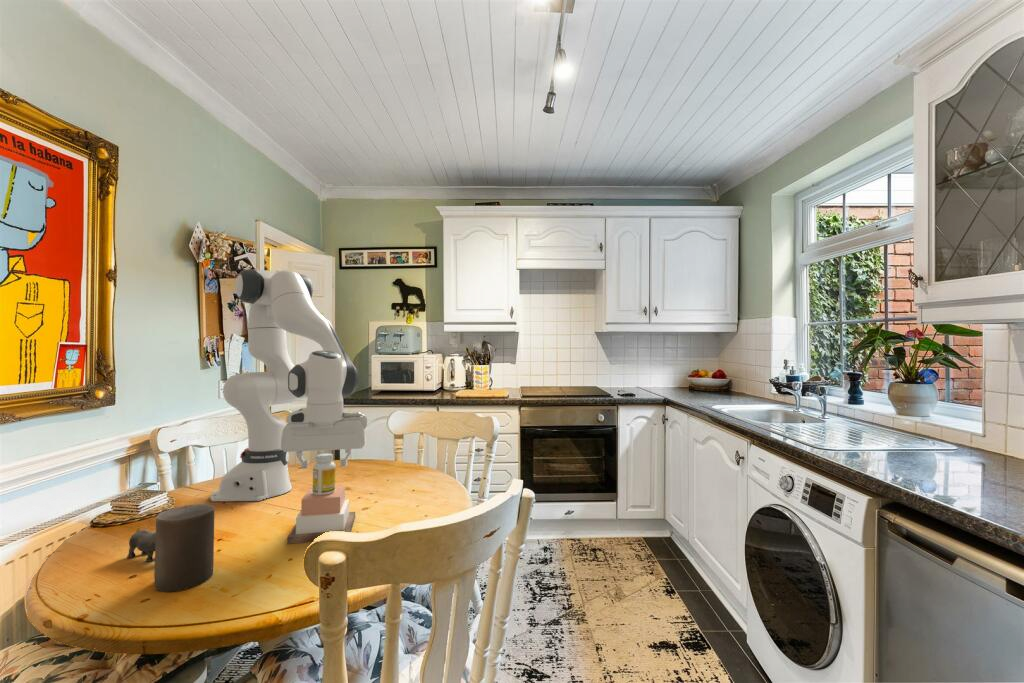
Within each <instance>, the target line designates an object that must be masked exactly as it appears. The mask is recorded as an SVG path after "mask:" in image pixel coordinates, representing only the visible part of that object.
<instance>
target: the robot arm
mask: <svg viewBox="0 0 1024 683" xmlns="http://www.w3.org/2000/svg"><path fill="white" fill-rule="evenodd" d="M234 281H235V282H234V289H235V293H236V294H235V295H236V296H237V298H238V299H239V300H240V301H241V302H243V303H246V304H250V305H249V311H248V318H247V319H248V320H247V321H248V323H247V326H248V327H247V328H248V329H247V336H248V337H247V338H248V339H247V340H248V342H247V343H248V344H247V345H248V349H247V350H248V352H249V355H250V356H252V357H253V358H254V359H256V360H257V361H260V362H262V363H263V364H264V365H265V367H266V371H253V372H252V371H248V372H243V373H238V374H234V375H231V376H229V377H228V378H227V379H226V381H225V383H224V384H223V387H222V393H223V398H224V400H225V401H226V403H227V404H228V405H230V406H231V407H232V408H234V409H236V410H237V411H238V412H239V413H240V414H241V416H242V417H243V418H244V420H245V423H246V426H247V427H246V428H247V437H248V438H247V439H248V442H247V443H248V447H246V448H245V449H244V450H243V451H242V452H241V454H240V455H239V458H240V459H241V461H240V462H239V463H238V464H236V465H235V466H234V467H232V468H231V469H230V470H229V471H228V472H226V473H225V474H224V475H223V476H222V478H221V479H220V483H219V487H218V489H216V490H214V491H213V492H212V493H211V494H210V498H209V500H210V499H211V500H212V501H211V500H210V501H211V502H259V501H264V500H267V499H269V498H273V497H278V496H281V495H284V494H286V493H288V492H291V490H292V489H293V486H292V484H291V479H290V475H289V469H288V468H289V467H288V464H289V460H290V455H289V454H290V453H291V452H292V453H293V452H296V453H295V454H296V457H297V459H298V460H299V462H300V469H302V470H303V469H308V468H309V461H310V460H308V459H305V457H304V456H303V455H304V454H305V452H311V451H312V452H314V451H334V450H335V451H337V450H345V451H344V453H345V457H344V458H341V459H340V462H339V464H340V467H347V466H348V459H349V457H350V455H351V453H352V451H353V450H357V449H358V450H359V449H363V448H364V447H365V446H366V442H367V439H366V437H367V436H366V428H367V426H368V418H367V416H366V415H365V414H362V413H361V412H344V398H348V397H350V396H351V395H352V394H354V392H355V391H356V390H357V389H358V387H359V385H360V374H359V372H358V369H357V367H356V366H355V365H354V363H353V362H352V360H351V359H350V358H349V356H348V353H347V352H346V350H345V348H344V346H343V344H342V341H341V339H340V337H339V336H338V334H337V332H336V330H335V328H334V327H333V325H332V322H331V321H330V320H329V319H328V318H326V317H325V316H323V315H322V314H321V313H320V312H319V311H318V309H317V308H316V306H314V302H313V301H312V297H313V292H314V289H313V282H312V280H311V278H309V277H308V276H307V275H305V274H302V273H301V274H300V273H297V272H296V271H293V270H288V269H286V270H268V269H267V270H265V269H264V270H263V269H261V270H260V269H254V268H253V269H252V268H251V269H243V270H241V271H240V272H239V273H238V274H237V276H236V279H235V280H234ZM287 333H289V334H293V335H297V336H301V337H304V338H306V339H309V340H312V341H314V342H316V343H317V344H319V345H320V347H321V348H322V350H316V351H312V352H310V353H309V355H308V359H307V360H305V361H304V362H302V363H299V364H294V362H293V361H292V359H291V356H290V354H289V349H288V341H287V340H288V337H287ZM304 399H307V400H306V407H302V408H300V409H298V410H294V411H292V412H289V413H288V415H286V417H285V419H286V420H284V418H281V417H280V416H278V415H275V414H272V411H271V409H270V408H271V406H275V405H283V404H284V405H286V404H291V403H296V402H299V401H302V400H304ZM266 498H267V499H266ZM263 499H264V500H263Z"/></svg>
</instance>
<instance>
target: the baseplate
mask: <svg viewBox="0 0 1024 683" xmlns="http://www.w3.org/2000/svg"><path fill="white" fill-rule="evenodd" d="M355 520H356V511H349V515H348V518H347V522H346V525H345V528H344V530H340V531H345V532H351V533H352V530H353V526H354V523H355ZM328 532H329V531H328ZM323 533H325V532H317V533H305V534H296V523H295V525H294V526H293V528H292V530H291V531H290V533H289V534H288V536H287V540H286V541H287V544H288V545H289V544H298V543H309V542H314V541H313V540H314V539H315V538H317V537H318V536H320V535H322V534H323Z"/></svg>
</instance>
